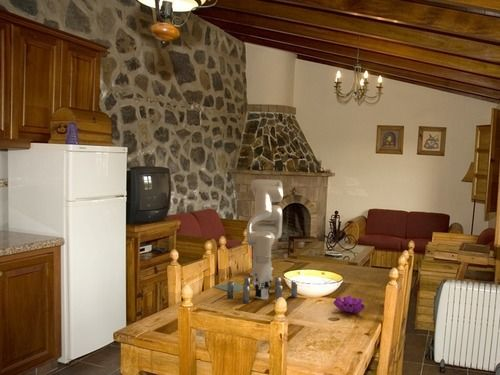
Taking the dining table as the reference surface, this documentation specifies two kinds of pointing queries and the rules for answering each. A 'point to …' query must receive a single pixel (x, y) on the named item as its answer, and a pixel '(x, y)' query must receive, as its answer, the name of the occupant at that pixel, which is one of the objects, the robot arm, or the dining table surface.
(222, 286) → the rubber mat
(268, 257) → the robot arm
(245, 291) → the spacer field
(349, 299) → the purple knobbly lump
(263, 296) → the hex nut
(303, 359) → the dining table surface
